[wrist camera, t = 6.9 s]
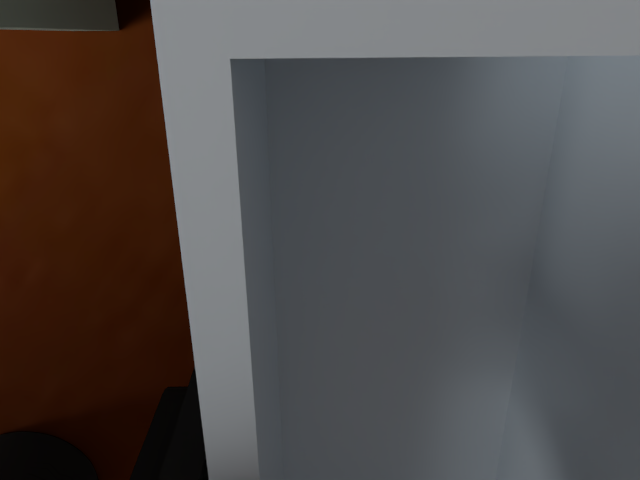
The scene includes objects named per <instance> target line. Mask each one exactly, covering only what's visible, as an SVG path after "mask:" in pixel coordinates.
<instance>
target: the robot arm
mask: <svg viewBox="0 0 640 480" xmlns="http://www.w3.org/2000/svg"><path fill="white" fill-rule="evenodd" d="M130 480H209V477H208V469H207V461H206V452H205V444H204V436H203V428H202V420H201V412H200V403H199V395H198V387H197V379H196V371H195V367H194V370H193V373H192V376H191V379H190V382H189V386H188V387H167V388H166V389H165V391H164V393H163V394H162V397H161V399H160V402H159V405H158V407H157V410H156V412H155V415H154V418H153V420H152V423H151V425H150V428H149V431H148V433H147V436H146V438H145V441H144V444H143V446H142V449H141V451H140V454H139V456H138V459H137V462H136V464H135V467H134V469H133V472H132V475H131V477H130Z"/></svg>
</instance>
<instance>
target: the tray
mask: <svg viewBox="0 0 640 480" xmlns="http://www.w3.org/2000/svg"><path fill="white" fill-rule="evenodd" d="M150 3H151V12H152V20H153V28H154V36H155V44H156V52H157V61H158V69H159V77H160V85H161V93H162V101H163V110H164V118H165V126H166V134H167V142H168V150H169V158H170V167H171V175H172V183H173V191H174V199H175V207H176V216H177V224H178V232H179V240H180V248H181V256H182V265H183V273H184V281H185V289H186V297H187V305H188V314H189V322H190V330H191V338H192V346H193V354H194V363H195V371H196V379H197V387H198V395H199V403H200V412H201V420H202V428H203V436H204V444H205V452H206V461H207V469H208V477H209V480H640V0H150Z"/></svg>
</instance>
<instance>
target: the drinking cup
mask: <svg viewBox="0 0 640 480" xmlns="http://www.w3.org/2000/svg"><path fill="white" fill-rule="evenodd" d="M0 480H98V478H97V474H96V471H95V469H94V467H93V466H92V464H91V463H90V461H89V460H88V459H87V458H86V456H85V455H84V454H83V453H81V452H80V451H79V450H78V449H77V448H75V447H74V446H72V445H71V444H69V443H67V442H65V441H63V440H61V439H58V438H56V437H53V436H50V435H46V434H42V433H35V432H14V433H8V434H3V435H0Z"/></svg>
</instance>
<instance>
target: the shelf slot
mask: <svg viewBox="0 0 640 480" xmlns="http://www.w3.org/2000/svg"><path fill="white" fill-rule="evenodd" d="M0 29H13V30H55V31H119V24H118V17H117V10H116V3H115V0H0Z"/></svg>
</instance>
